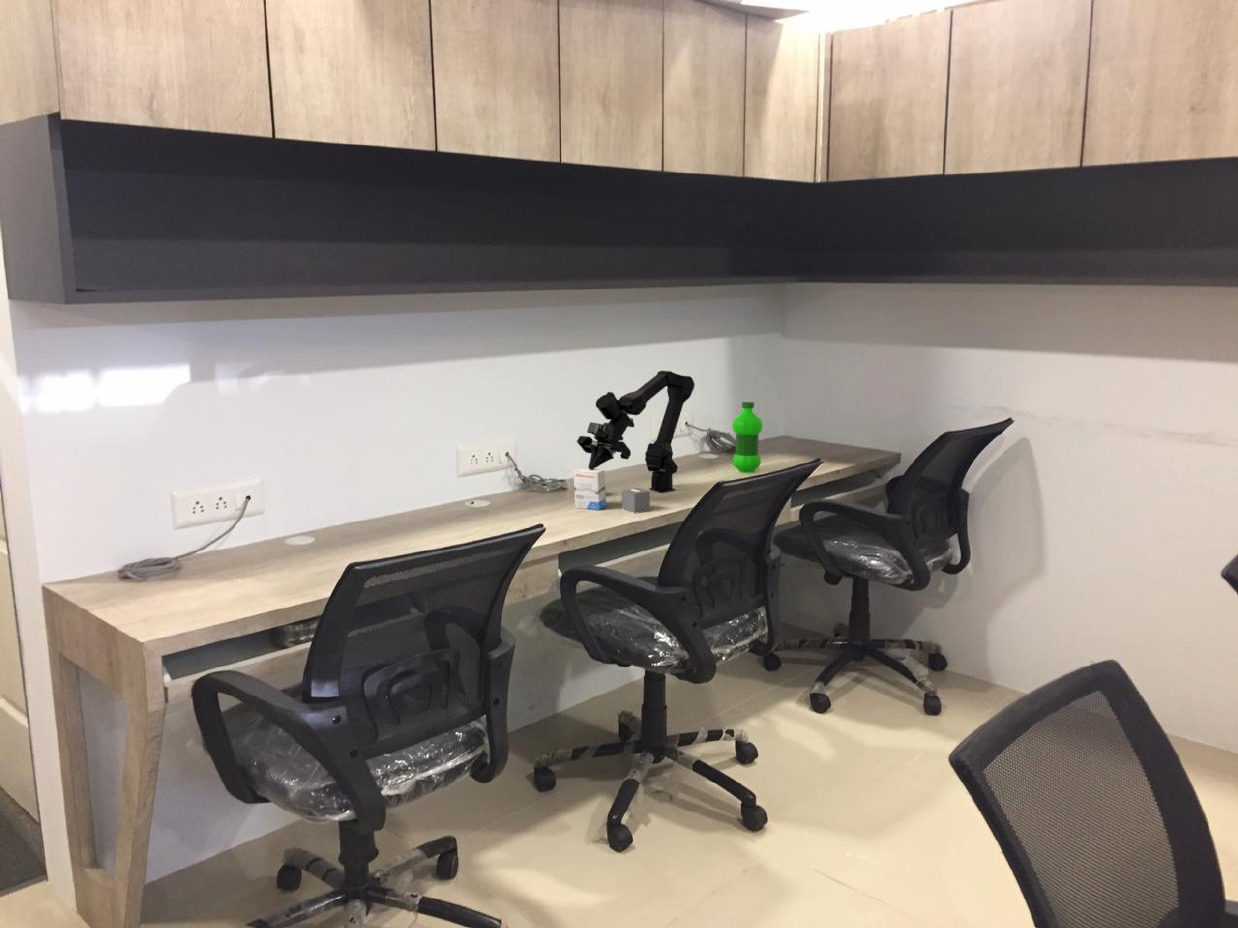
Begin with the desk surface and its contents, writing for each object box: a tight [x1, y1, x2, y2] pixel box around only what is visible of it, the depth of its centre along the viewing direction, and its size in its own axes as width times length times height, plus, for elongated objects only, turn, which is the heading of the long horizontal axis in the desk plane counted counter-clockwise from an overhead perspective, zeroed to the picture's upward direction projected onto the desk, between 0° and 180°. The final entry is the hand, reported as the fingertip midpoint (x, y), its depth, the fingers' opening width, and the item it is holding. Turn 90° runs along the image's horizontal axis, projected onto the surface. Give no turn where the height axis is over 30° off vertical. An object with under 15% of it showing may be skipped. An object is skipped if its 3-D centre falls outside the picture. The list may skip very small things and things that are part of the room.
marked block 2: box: [621, 487, 651, 514], centre depth 298 cm, size 6×6×6 cm
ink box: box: [573, 467, 607, 511], centre depth 301 cm, size 9×5×12 cm, turn 63°
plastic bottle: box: [732, 401, 763, 474], centre depth 354 cm, size 10×10×25 cm
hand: (589, 468), depth 300 cm, fingers closed, pressing on ink box
